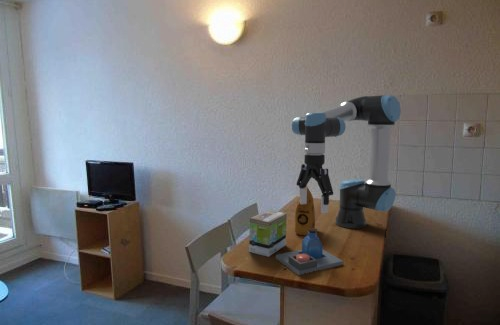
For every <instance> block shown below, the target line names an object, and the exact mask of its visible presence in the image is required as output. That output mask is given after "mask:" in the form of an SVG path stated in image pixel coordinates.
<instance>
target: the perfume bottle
mask: <svg viewBox="0 0 500 325" xmlns="http://www.w3.org/2000/svg"><path fill="white" fill-rule="evenodd" d="M308 235H309V236H307V235H304V238H303V239H302V241H301V243H302V244H301V246H302V247H301V250H302V253H307V254H308V255H310V256H312V257H313V258H315V259H317V258H322V250H324V249H323V244H322V242H321V239H320V238H319V237H318V236H317V235H318V231H317V228H316V227H315V228H309V231H308Z"/></svg>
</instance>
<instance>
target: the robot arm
mask: <svg viewBox="0 0 500 325" xmlns="http://www.w3.org/2000/svg"><path fill="white" fill-rule="evenodd" d="M401 113H402V112H401V105H400V102H399V99H398V98H397V97H396V96H394V95H387V94H386V95H385V94H384V95H364V96H359V97H355V98H352V99H350V100H347V101H346V100H345V101H344V102H342V103H341V104H340V105H339V106H335V107H332V108H329V109H326V110H323V111H320V112H308V113H306V115H305V116H299V117H298V116H297V117H295V118H294V119H292V122H291V130H292V132H293V134H295V135H299V136H305V137H304V153H305V154H304V163H303V164H302V163H301V167H300V172H299V174H298V178H297V181H296V186H298V188H299V197H300V204H307V188H305V187H306V185H307V186H308V184H309V183H310V180H311V179H314V180H315V181H316V183H317V185H318V187H319V190H320V191H321V196H320V214H325V213H327V214H328V213H329V203H330V196H334V189H333V187H332V182H331V179H330V175H329V169H328V168H323V165H324V164H325V159H326V156H325V153H326V138H331V137H333V138H336V137H339V136H342V135H343V134H344V133H345V132H346V122H349V123H350V122H352V121H367V125H368V126H369V128H370V146H369V164H368V166H369V167H368V178H367V179H366V180H364V179H359V178H357V179H356V178H355V179H354V178H353V179H352V178H351V179H345V180H343V181H341V182H340V187H339V209H338V212H337V216H336V217H335V225H336V226H339V227H341V228H345V229H355V230H356V229H363V228H365V227H366V226H367V220H366V217H365V216H366V215H365V213H364V209H369V210H372V211H376V212H387V211H390V209H391V208H392V207H393V205H394V203H395V199H396V194H397V193H396V189H394V188H393V187H392V183H391V181H390V180H389V178H388V177H389V168H390V167H389V164H390V147H391V133H392V132H391V129H392V128H393V127H394V126H395V123H396V122H398V121H399V119H400V117H401Z"/></svg>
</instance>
